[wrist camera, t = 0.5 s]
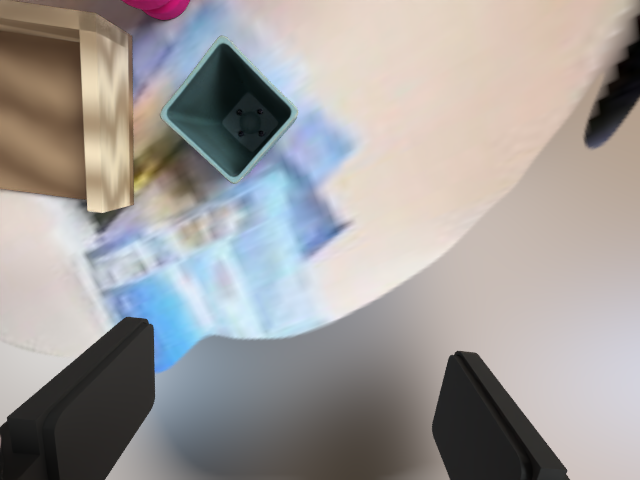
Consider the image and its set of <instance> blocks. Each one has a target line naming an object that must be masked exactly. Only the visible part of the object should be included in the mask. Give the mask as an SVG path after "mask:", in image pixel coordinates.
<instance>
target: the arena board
mask: <svg viewBox="0 0 640 480" xmlns="http://www.w3.org/2000/svg"><path fill="white" fill-rule="evenodd" d="M128 81H129V168H130V205H134V180H133V64H132V36H131V35H130V34H128ZM0 188H1V189H8V190H16V191H23V192H31V193H38V194H46V195H54V196H61V197H69V198H76V199H84V200H87V190H86V167H85V145H84V123H83V100H82V78H81V55H80V42H74V41H67V40H61V39H54V38H47V37H40V36H33V35H26V34H20V33H13V32H6V31H0Z"/></svg>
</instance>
